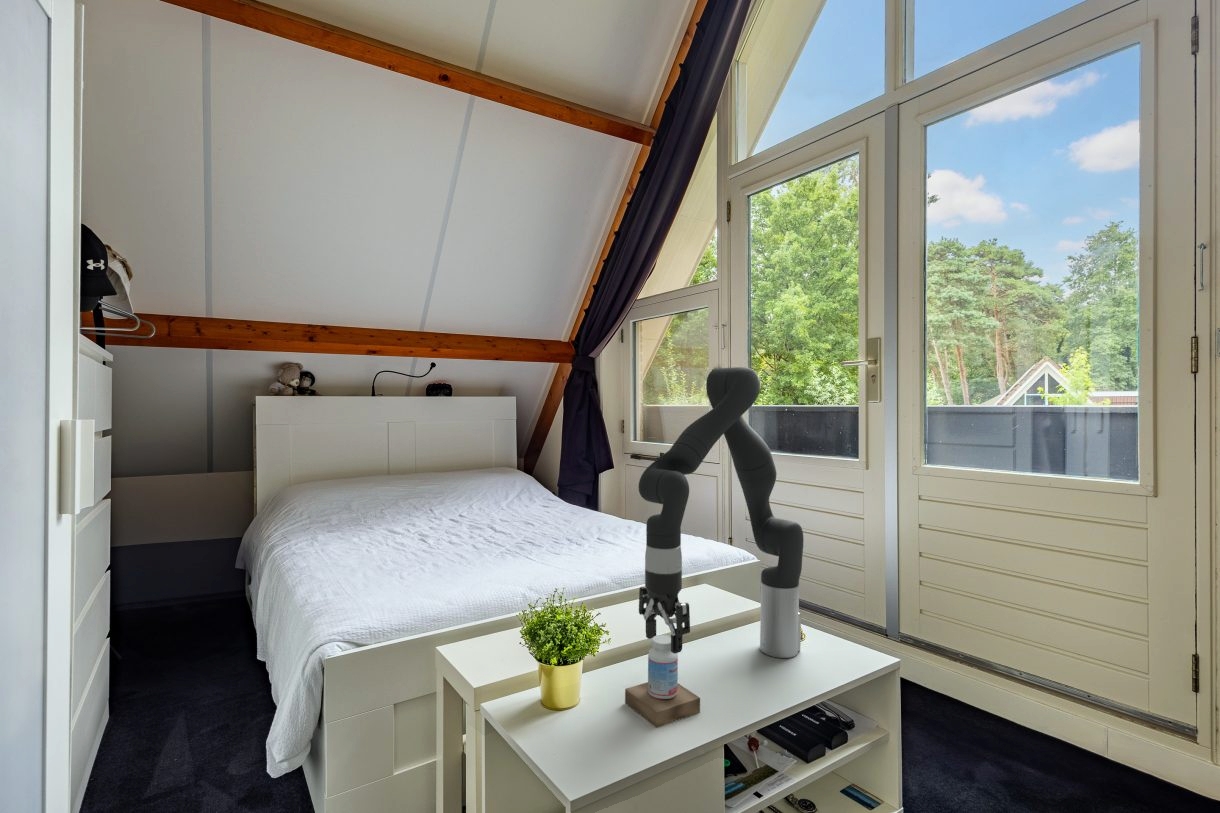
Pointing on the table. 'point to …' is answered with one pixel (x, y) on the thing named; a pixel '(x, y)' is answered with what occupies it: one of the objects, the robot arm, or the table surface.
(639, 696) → the walnut stand
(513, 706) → the table surface
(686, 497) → the robot arm
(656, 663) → the pill bottle
